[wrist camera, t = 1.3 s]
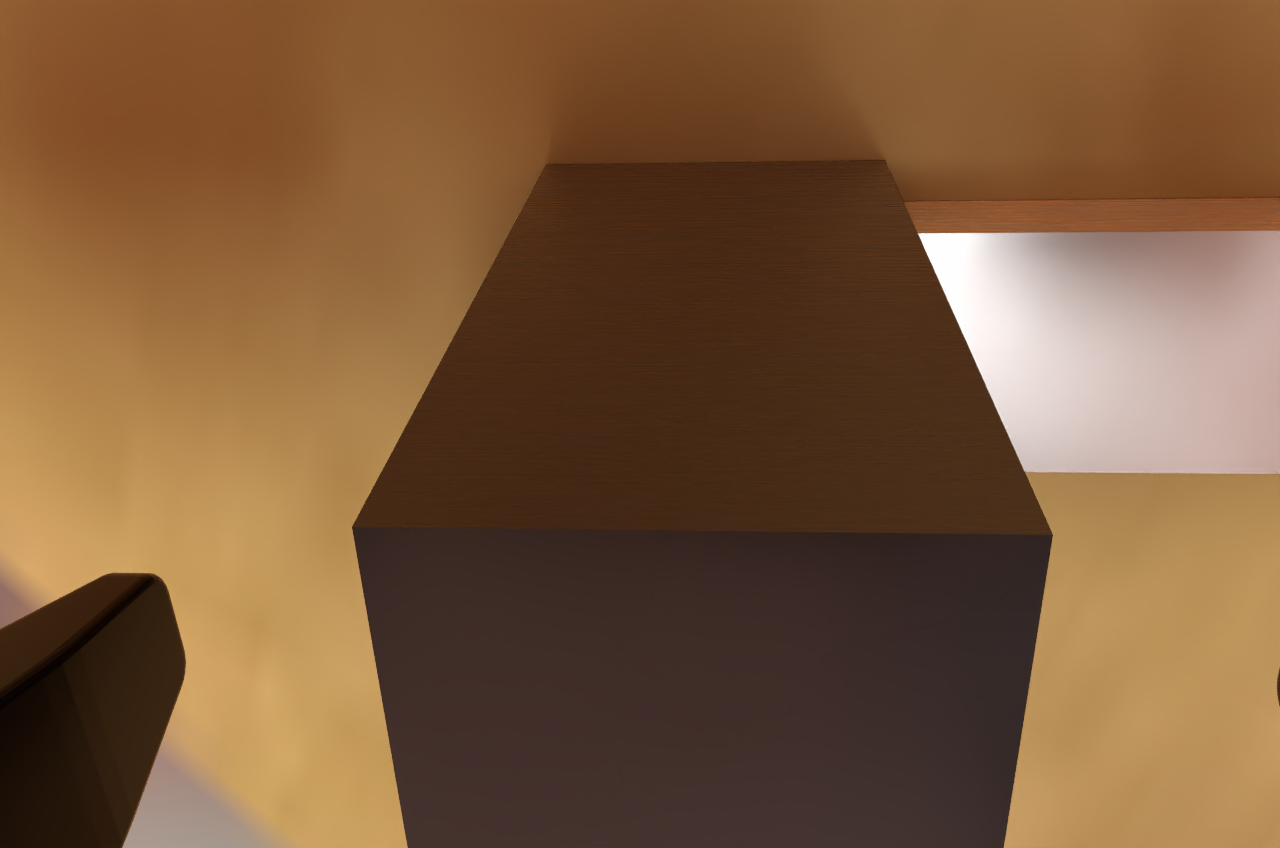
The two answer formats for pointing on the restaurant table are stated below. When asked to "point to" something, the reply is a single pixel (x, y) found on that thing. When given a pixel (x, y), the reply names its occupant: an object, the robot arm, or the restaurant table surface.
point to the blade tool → (780, 495)
